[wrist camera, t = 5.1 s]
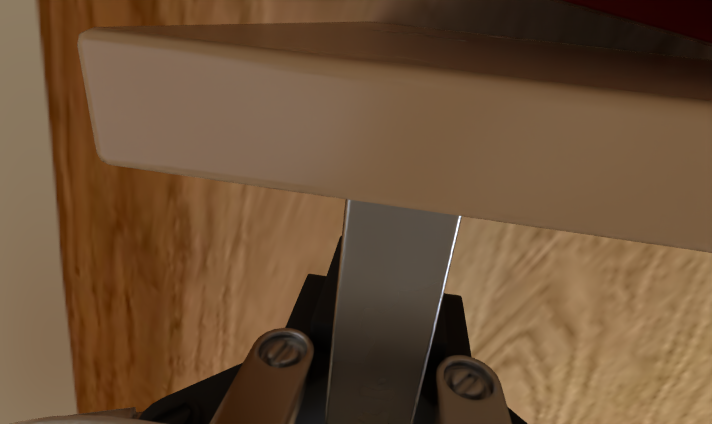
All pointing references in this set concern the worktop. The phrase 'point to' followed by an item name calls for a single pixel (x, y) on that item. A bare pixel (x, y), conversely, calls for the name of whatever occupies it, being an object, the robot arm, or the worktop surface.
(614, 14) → the valve cabinet
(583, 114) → the cabinet door
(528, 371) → the worktop surface
